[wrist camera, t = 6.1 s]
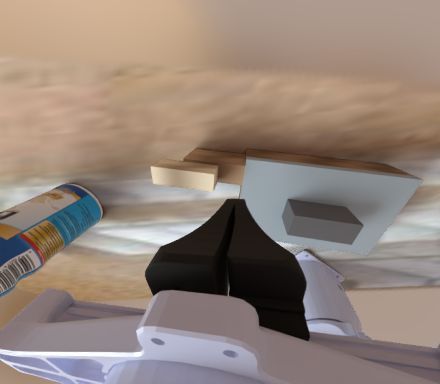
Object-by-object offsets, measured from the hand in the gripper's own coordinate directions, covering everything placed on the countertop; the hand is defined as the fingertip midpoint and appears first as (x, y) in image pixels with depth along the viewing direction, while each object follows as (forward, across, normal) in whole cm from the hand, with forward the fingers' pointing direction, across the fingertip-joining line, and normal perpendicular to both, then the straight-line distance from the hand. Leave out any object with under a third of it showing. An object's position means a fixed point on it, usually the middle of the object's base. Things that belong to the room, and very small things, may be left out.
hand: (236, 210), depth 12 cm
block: (+5, +5, -1) cm, 8 cm away
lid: (+7, -8, +4) cm, 11 cm away
